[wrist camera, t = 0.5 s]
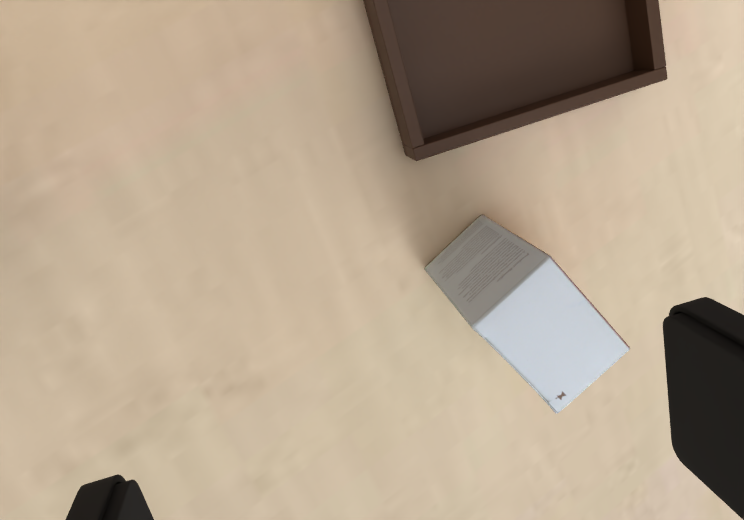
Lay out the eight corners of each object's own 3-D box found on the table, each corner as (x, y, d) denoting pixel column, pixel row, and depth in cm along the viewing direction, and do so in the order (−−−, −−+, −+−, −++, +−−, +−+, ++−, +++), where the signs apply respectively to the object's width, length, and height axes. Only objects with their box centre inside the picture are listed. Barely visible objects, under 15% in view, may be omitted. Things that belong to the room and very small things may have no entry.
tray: (340, -84, 34) (346, -98, 31) (609, -163, 35) (637, -182, 32) (405, 155, 38) (416, 161, 36) (640, 79, 40) (668, 79, 37)
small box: (549, 287, 43) (635, 350, 33) (491, 340, 43) (559, 418, 33) (481, 210, 40) (552, 253, 30) (420, 267, 41) (471, 328, 31)
